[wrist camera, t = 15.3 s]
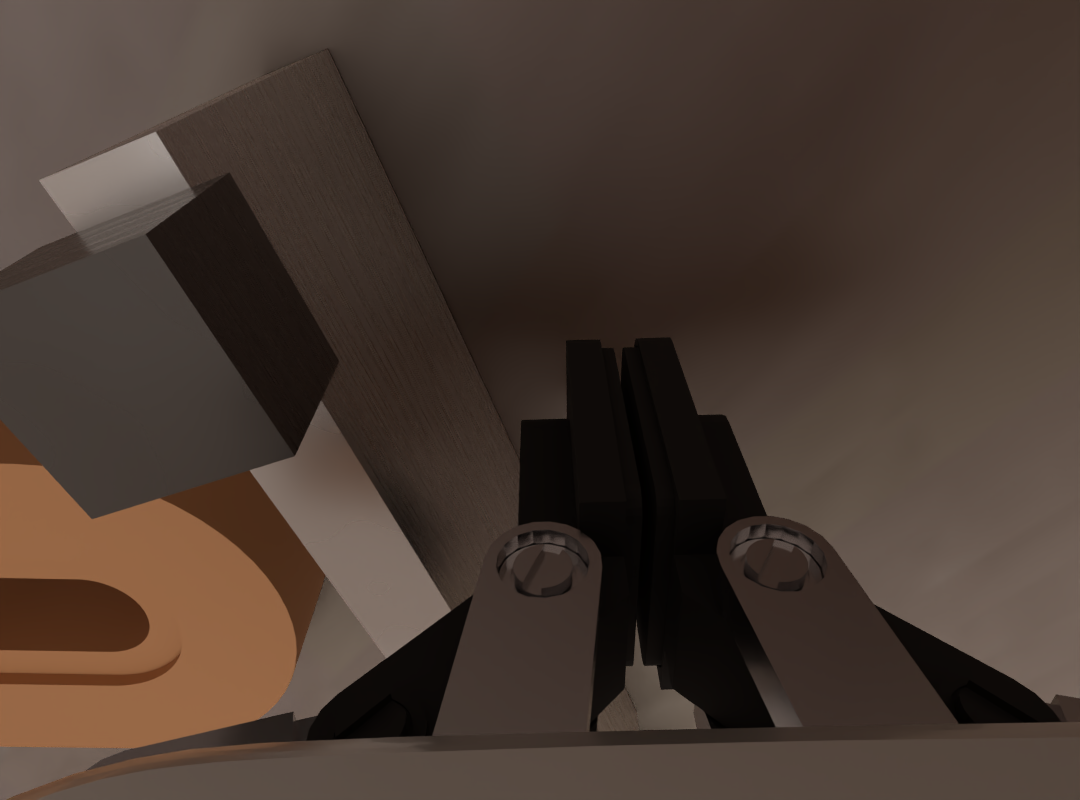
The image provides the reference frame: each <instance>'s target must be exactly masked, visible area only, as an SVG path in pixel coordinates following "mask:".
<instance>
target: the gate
mask: <svg viewBox="0 0 1080 800" xmlns="http://www.w3.org/2000/svg"><path fill="white" fill-rule="evenodd" d="M39 181H40V183H41V184H42V185H43V187H44V188H45V189H46V191H47V192H48V194H49V195H50V196H51V198H52V199H53V200H54V202H55V203H56V205H57V206H58V207H59V209H60V210H61V211H62V213H63V214H64V216H65V217H66V218H67V220H68V221H69V222H70V224H71V225H72V227H73V228H74V229H75V231H76V232H77V233H75V234H72V235H70V236H67V237H65V238H62V239H60V240H57V241H55V242H52V243H49V244H47V245H44V246H42V247H40V248H38V249H37V250H35V251H33V252H32V253H30V254H28V255H27V256H25V257H23V258H22V259H20V260H18V261H17V262H15V263H13V264H12V265H10V266H8V267H7V268H5V269H3V270H2V271H0V420H1V421H2V422H3V423H4V424H5V425H6V426H7V427H8V429H9V430H10V431H11V432H12V433H13V434H14V435H15V436H16V437H17V438H18V439H19V441H20V442H21V443H22V444H23V445H24V446H25V447H26V448H27V449H28V450H29V451H30V453H31V454H32V455H33V456H34V457H35V458H36V459H37V460H38V461H39V462H40V463H41V464H42V466H43V467H44V468H45V469H46V470H47V471H48V472H49V473H50V474H51V475H52V476H53V478H54V479H55V480H56V481H57V482H58V483H59V484H60V485H61V486H62V487H63V488H64V490H65V491H66V492H67V493H68V494H69V495H70V496H71V497H72V498H73V499H74V500H75V502H76V503H77V504H78V505H79V506H80V507H81V508H82V509H83V510H84V511H85V512H86V513H87V515H88V516H89V517H90V518H91V519H95V518H98V517H101V516H104V515H108V514H111V513H114V512H117V511H121V510H124V509H127V508H130V507H133V506H137V505H140V504H143V503H146V502H149V501H153V500H156V499H159V498H162V497H166V496H169V495H172V494H175V493H178V492H182V491H185V490H188V489H191V488H194V487H198V486H201V485H204V484H207V483H210V482H214V481H217V480H220V479H223V478H227V477H230V476H233V475H236V474H239V473H243V472H246V471H249V470H250V472H251V473H252V475H253V476H254V477H255V479H256V480H257V481H258V483H259V484H260V486H261V487H262V488H263V490H264V491H265V492H266V494H267V495H268V497H269V498H270V499H271V501H272V502H273V503H274V505H275V506H276V508H277V509H278V510H279V512H280V513H281V514H282V516H283V517H284V519H285V520H286V521H287V523H288V524H289V525H290V527H291V528H292V530H293V531H294V532H295V534H296V535H297V537H298V538H299V539H300V541H301V542H302V543H303V545H304V546H305V548H306V549H307V550H308V552H309V553H310V554H311V556H312V557H313V559H314V560H315V561H316V563H317V564H318V565H319V567H320V568H321V570H322V571H323V572H324V574H325V575H326V576H327V578H328V579H329V581H330V582H331V583H332V585H333V586H334V587H335V589H336V590H337V592H338V593H339V594H340V596H341V597H342V598H343V600H344V601H345V603H346V604H347V605H348V607H349V608H350V610H351V611H352V612H353V614H354V615H355V616H356V618H357V619H358V621H359V622H360V623H361V625H362V626H363V627H364V629H365V630H366V632H367V633H368V634H369V636H370V637H371V638H372V640H373V641H374V643H375V644H376V645H377V647H378V648H379V649H380V651H381V652H382V654H383V655H384V656H385V658H388V657H389V656H390V655H392V654H393V653H394V652H396V651H397V650H399V649H400V648H401V647H403V646H404V645H405V644H407V643H408V642H409V641H411V640H412V639H413V638H415V637H416V636H418V635H419V634H420V633H422V632H423V631H424V630H426V629H427V628H428V627H430V626H431V625H432V624H434V623H435V622H437V621H438V620H439V619H441V618H442V617H443V616H445V615H446V614H447V613H449V612H450V611H451V610H453V609H454V608H456V607H457V606H458V605H460V604H461V603H462V602H464V601H465V600H466V599H468V598H469V597H470V596H472V595H473V594H474V591H475V588H476V584H477V581H478V577H479V574H480V570H481V567H482V564H483V560H484V557H485V555H486V553H487V551H488V549H489V547H490V545H491V544H492V543H493V542H494V541H495V540H496V539H497V538H498V537H499V536H500V535H501V534H503V533H505V532H507V531H508V530H510V529H512V528H514V527H516V526H518V509H519V477H520V461H519V458H518V456H517V454H516V452H515V450H514V448H513V446H512V443H511V441H510V439H509V437H508V435H507V433H506V431H505V428H504V426H503V424H502V422H501V420H500V418H499V415H498V413H497V411H496V409H495V407H494V405H493V403H492V400H491V398H490V396H489V394H488V392H487V390H486V388H485V385H484V383H483V381H482V379H481V377H480V375H479V372H478V370H477V368H476V366H475V364H474V362H473V360H472V357H471V355H470V353H469V351H468V349H467V347H466V345H465V342H464V340H463V338H462V336H461V334H460V332H459V329H458V327H457V325H456V323H455V321H454V319H453V317H452V314H451V312H450V310H449V308H448V306H447V304H446V302H445V299H444V297H443V295H442V293H441V291H440V289H439V286H438V284H437V282H436V280H435V278H434V276H433V274H432V271H431V269H430V267H429V265H428V263H427V261H426V259H425V256H424V254H423V252H422V250H421V248H420V246H419V244H418V241H417V239H416V237H415V235H414V233H413V231H412V228H411V226H410V224H409V222H408V220H407V218H406V216H405V213H404V211H403V209H402V207H401V205H400V203H399V201H398V198H397V196H396V194H395V192H394V190H393V188H392V185H391V183H390V181H389V179H388V177H387V175H386V173H385V170H384V168H383V166H382V164H381V162H380V160H379V158H378V155H377V153H376V151H375V149H374V147H373V145H372V142H371V140H370V138H369V136H368V134H367V132H366V130H365V127H364V125H363V123H362V121H361V119H360V117H359V115H358V112H357V110H356V108H355V106H354V104H353V102H352V99H351V97H350V95H349V93H348V91H347V89H346V87H345V84H344V82H343V80H342V78H341V76H340V74H339V72H338V69H337V67H336V65H335V63H334V61H333V59H332V57H331V54H330V52H329V50H328V49H326V50H323V51H321V52H319V53H316V54H314V55H311V56H309V57H307V58H304V59H302V60H299V61H297V62H295V63H292V64H290V65H287V66H285V67H283V68H280V69H278V70H276V71H273V72H271V73H268V74H266V75H264V76H261V77H259V78H257V79H255V80H253V81H250V82H248V83H246V84H244V85H242V86H240V87H238V88H235V89H233V90H231V91H229V92H227V93H225V94H223V95H220V96H218V97H216V98H214V99H212V100H210V101H208V102H205V103H203V104H201V105H199V106H197V107H195V108H193V109H190V110H188V111H186V112H184V113H182V114H180V115H178V116H176V117H173V118H171V119H169V120H167V121H165V122H163V123H161V124H158V125H156V126H154V127H152V128H150V129H148V130H146V131H143V132H141V133H139V134H137V135H135V136H133V137H131V138H128V139H126V140H124V141H122V142H120V143H118V144H116V145H113V146H111V147H109V148H107V149H105V150H103V151H101V152H98V153H96V154H94V155H92V156H90V157H88V158H86V159H83V160H81V161H79V162H77V163H75V164H73V165H71V166H68V167H66V168H64V169H62V170H60V171H58V172H56V173H54V174H51V175H49V176H47V177H45V178H43V179H41V180H39ZM598 731H639V725H638V718H637V712H636V710H635V708H634V706H633V703H632V701H631V699H630V697H629V695H628V693H627V691H626V688H624V690H623V691H622V692H621V693H620V694H619V695H618V696H617V697H616V698H615V699H614V700H613V701H612V702H611V703H610V704H609V705H608V706H607V707H606V708H605V709H604V710H603V711H602V712H601V713H600V714H599V723H598Z"/></svg>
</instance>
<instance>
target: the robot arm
mask: <svg viewBox="0 0 1080 800" xmlns="http://www.w3.org/2000/svg"><path fill="white" fill-rule="evenodd" d="M566 374H567V419H542V420H522V421H521V445H520V477H519V509H518V526H516V527H514V528H512V529H510V530H508V531H507V532H505V533H503V534H501V535H500V536H499V537H498V538H497V539H496V540H495V541H494V542H493V543H492V544H491V545H490V547H489V549H488V551H487V553H486V555H485V557H484V560H483V564H482V567H481V570H480V574H479V577H478V581H477V584H476V588H475V591H474V594H473V595H472V596H470V597H469V598H468V599H466V600H465V601H464V602H462V603H461V604H460V605H458V606H457V607H456V608H454V609H453V610H451V611H450V612H449V613H447V614H446V615H445V616H443V617H442V618H441V619H439V620H438V621H437V622H435V623H434V624H432V625H431V626H430V627H428V628H427V629H426V630H424V631H423V632H422V633H420V634H419V635H418V636H416V637H415V638H413V639H412V640H411V641H409V642H408V643H407V644H405V645H404V646H403V647H401V648H400V649H399V650H397V651H396V652H394V653H393V654H392V655H390V656H389V657H388V658H386V659H385V660H384V661H382V662H381V663H380V664H378V665H377V666H375V667H374V668H373V669H371V670H370V671H369V672H367V673H366V674H365V675H363V676H362V677H361V678H359V679H358V680H356V681H355V682H354V683H352V684H351V685H350V686H348V687H347V688H346V689H344V690H343V691H342V692H340V693H339V694H337V695H336V696H335V697H334V698H333V699H332V700H331V701H330V702H329V703H328V704H327V705H326V706H325V707H324V708H323V709H321V711H320V713H319V714H318V716H314V717H310V718H306V719H301V720H297V721H296V718H295V715H294V712H290V713H285V714H281V715H277V716H272V717H268V718H264V719H259V720H255V721H251V722H246V723H242V724H238V725H234V726H229V727H225V728H221V729H216V730H212V731H208V732H203V733H199V734H195V735H190V736H186V737H182V738H177V739H173V740H169V741H164V742H160V743H156V744H151V745H147V746H143V747H138V748H134V749H130V750H126V751H123V752H120V753H118V754H115V755H113V756H110V757H107V758H105V759H102V760H100V761H99V762H98V763H96V764H95V765H93V766H92V767H90V768H89V769H87V770H86V771H84V772H80V773H76V774H73V775H70V776H67V777H65V778H62V779H59V780H57V781H54V782H51V783H48V784H46V785H43V786H40V787H38V788H35V789H32V790H29V791H27V792H24V793H21V794H19V795H16V796H13V797H11V798H9V799H7V800H1080V698H1074V697H1068V696H1062V695H1055V697H1054V699H1053V700H1052V702H1051V704H1049V703H1045V702H1044V701H1043V700H1042V699H1041V698H1039V697H1038V696H1037V695H1036V694H1035V693H1034V692H1032V691H1031V690H1029V689H1028V688H1026V687H1025V686H1023V685H1022V684H1020V683H1018V682H1017V681H1015V680H1014V679H1012V678H1010V677H1008V676H1007V675H1005V674H1003V673H1001V672H999V671H997V670H995V669H994V668H992V667H990V666H988V665H986V664H984V663H982V662H980V661H979V660H977V659H975V658H973V657H971V656H969V655H967V654H966V653H964V652H962V651H960V650H958V649H956V648H954V647H953V646H951V645H949V644H947V643H945V642H943V641H941V640H939V639H938V638H936V637H934V636H932V635H930V634H928V633H926V632H925V631H923V630H921V629H919V628H917V627H915V626H913V625H911V624H910V623H908V622H906V621H904V620H902V619H900V618H898V617H897V616H895V615H893V614H891V613H889V612H887V611H885V610H884V609H882V608H880V607H878V606H876V605H874V604H873V602H872V601H871V600H870V598H869V597H868V595H867V594H866V593H865V591H864V590H863V588H862V587H861V586H860V584H859V583H858V581H857V580H856V579H855V577H854V576H853V574H852V573H851V572H850V570H849V569H848V567H847V566H846V565H845V563H844V562H843V560H842V559H841V558H840V556H839V555H838V553H837V552H836V551H835V549H834V548H833V547H832V546H831V545H830V544H829V543H828V542H827V541H826V539H825V538H824V537H823V536H821V535H820V534H818V533H817V532H815V531H814V530H812V529H811V528H809V527H807V526H805V525H803V524H800V523H797V522H795V521H792V520H790V519H785V518H779V517H774V516H767V515H766V512H765V510H764V507H763V505H762V502H761V500H760V498H759V495H758V493H757V490H756V488H755V485H754V483H753V480H752V478H751V475H750V473H749V471H748V468H747V466H746V463H745V461H744V458H743V456H742V453H741V451H740V448H739V446H738V443H737V441H736V439H735V436H734V434H733V431H732V429H731V426H730V424H729V421H728V420H727V418H726V416H724V415H698V414H697V411H696V408H695V405H694V403H693V400H692V397H691V394H690V391H689V388H688V385H687V382H686V379H685V377H684V374H683V371H682V368H681V365H680V362H679V359H678V356H677V354H676V351H675V348H674V345H673V342H672V340H671V338H638V339H636V340H635V345H634V347H630V348H623V350H622V368H621V383H620V378H619V373H618V368H617V363H616V358H615V352H614V348H602V347H601V342H600V340H568V341H566ZM636 621H637V628H638V634H639V641H640V648H641V654H642V660H643V664H644V666H650V665H657V670H658V675H659V681H660V687H661V690H664V689H674V690H676V691H677V692H678V693H680V694H681V695H682V696H684V697H685V698H686V699H688V700H689V701H691V702H692V703H693V704H695V706H694V717H695V722H696V727H697V729H682V730H639V731H598V723H599V714H600V713H601V712H602V711H603V710H604V709H605V708H606V707H607V706H608V705H609V704H610V703H611V702H612V701H613V700H614V699H615V698H616V697H617V696H618V695H619V694H620V693H621V692H622V691H623V690H624V688H625V669H626V666H633V661H634V646H635V630H636Z"/></svg>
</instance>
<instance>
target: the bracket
mask: <svg viewBox="0 0 1080 800" xmlns="http://www.w3.org/2000/svg"><path fill="white" fill-rule="evenodd" d="M324 578H325V574H324V572H323V571H322V570H321V568H320V567H319V565H318V564H317V563H316V561H315V560H314V559H313V557H312V556H311V554H310V553H309V552H308V550H307V549H306V548H305V546H304V545H303V543H302V542H301V541H300V539H299V538H298V537H297V535H296V534H295V532H294V531H293V530H292V528H291V527H290V525H289V524H288V523H287V521H286V520H285V519H284V517H283V516H282V514H281V513H280V512H279V510H278V509H277V508H276V506H275V505H274V503H273V502H272V501H271V499H270V498H269V497H268V495H267V494H266V492H265V491H264V490H263V488H262V487H261V486H260V484H259V483H258V481H257V480H256V479H255V477H254V476H253V475H252V473H251V472H250V470H249V471H246V472H243V473H239V474H236V475H233V476H230V477H227V478H223V479H220V480H217V481H214V482H210V483H207V484H204V485H201V486H198V487H194V488H191V489H188V490H185V491H182V492H178V493H175V494H172V495H169V496H166V497H162V498H159V499H156V500H153V501H149V502H146V503H143V504H140V505H137V506H133V507H130V508H127V509H124V510H121V511H117V512H114V513H111V514H108V515H104V516H101V517H98V518H95V519H91V518H90V517H89V516H88V515H87V513H86V512H85V511H84V510H83V509H82V508H81V507H80V506H79V505H78V504H77V503H76V502H75V500H74V499H73V498H72V497H71V496H70V495H69V494H68V493H67V492H66V491H65V490H64V488H63V487H62V486H61V485H60V484H59V483H58V482H57V481H56V480H55V479H54V478H53V476H52V475H51V474H50V473H49V472H48V471H47V470H46V469H45V468H44V467H43V466H42V464H41V463H40V462H39V461H38V460H37V459H36V458H35V457H34V456H33V455H32V454H31V453H30V451H29V450H28V449H27V448H26V447H25V446H24V445H23V444H22V443H21V442H20V441H19V439H18V438H17V437H16V436H15V435H14V434H13V433H12V432H11V431H10V430H9V429H8V427H7V426H6V425H5V424H4V423H3V422H2V421H1V420H0V746H10V747H88V748H138V747H143V746H147V745H151V744H156V743H160V742H164V741H169V740H173V739H177V738H182V737H186V736H190V735H195V734H199V733H203V732H208V731H212V730H216V729H221V728H225V727H229V726H234V725H238V724H242V723H246V722H251V721H255V720H257V719H259V718H260V717H261V716H263V715H264V714H265V713H267V712H268V711H269V710H270V709H271V708H272V707H273V706H274V705H275V704H276V703H277V702H278V701H279V699H280V698H281V696H282V695H283V694H284V692H285V691H286V689H287V687H288V685H289V683H290V681H291V679H292V676H293V673H294V670H295V667H296V664H297V661H298V658H299V655H300V652H301V649H302V645H303V642H304V639H305V636H306V633H307V630H308V627H309V624H310V621H311V618H312V615H313V612H314V609H315V606H316V603H317V600H318V597H319V594H320V591H321V588H322V585H323V581H324Z"/></svg>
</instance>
